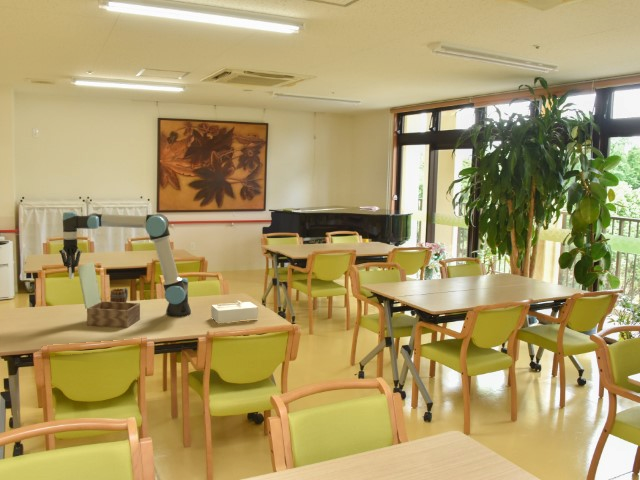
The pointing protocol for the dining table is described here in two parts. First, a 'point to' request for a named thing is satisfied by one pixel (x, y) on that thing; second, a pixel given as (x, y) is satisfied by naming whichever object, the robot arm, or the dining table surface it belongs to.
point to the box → (113, 314)
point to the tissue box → (234, 311)
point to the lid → (89, 284)
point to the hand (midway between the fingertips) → (71, 278)
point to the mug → (119, 295)
